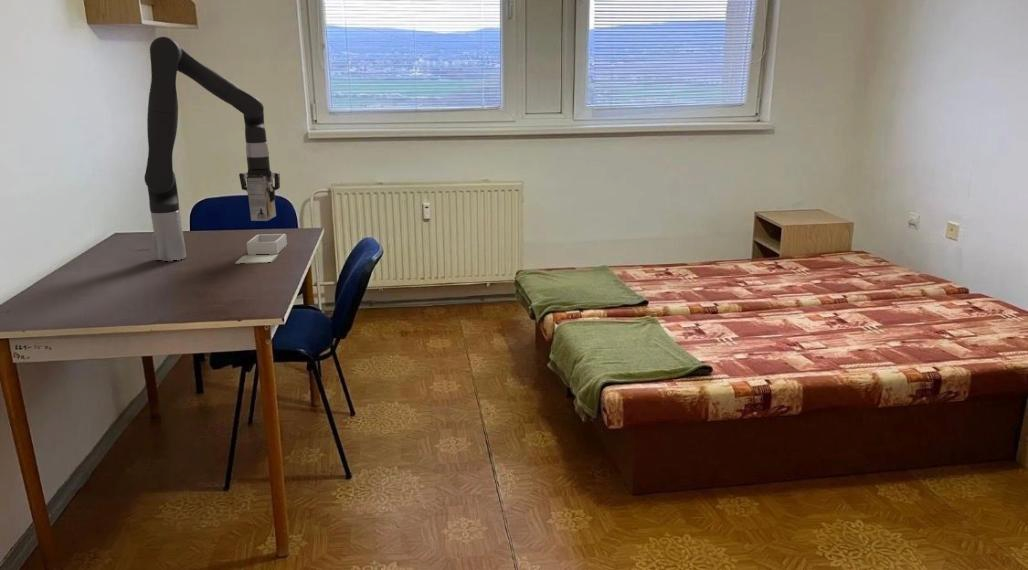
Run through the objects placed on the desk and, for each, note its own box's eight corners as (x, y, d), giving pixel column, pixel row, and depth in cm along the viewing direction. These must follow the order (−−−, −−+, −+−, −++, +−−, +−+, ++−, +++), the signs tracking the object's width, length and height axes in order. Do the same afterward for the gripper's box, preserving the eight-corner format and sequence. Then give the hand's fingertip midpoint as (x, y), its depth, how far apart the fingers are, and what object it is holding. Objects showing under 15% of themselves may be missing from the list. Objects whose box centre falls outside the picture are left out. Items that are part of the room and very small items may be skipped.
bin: (248, 255, 263) (246, 242, 261) (258, 246, 276) (257, 234, 274) (277, 254, 263) (276, 242, 262) (287, 245, 276) (285, 233, 275)
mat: (235, 263, 251) (235, 262, 251) (244, 256, 261) (244, 255, 260) (270, 262, 252) (270, 261, 251) (278, 255, 261) (278, 254, 261)
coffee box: (259, 216, 270) (255, 172, 266) (276, 216, 270) (272, 172, 266) (250, 220, 262) (245, 176, 257) (268, 221, 262) (263, 176, 257)
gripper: (233, 156, 256) (238, 203, 260) (275, 156, 256) (279, 203, 261) (240, 154, 263) (245, 200, 267) (280, 154, 264) (284, 199, 268)
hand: (262, 201), depth 264 cm, fingers closed on coffee box, 6 cm apart
